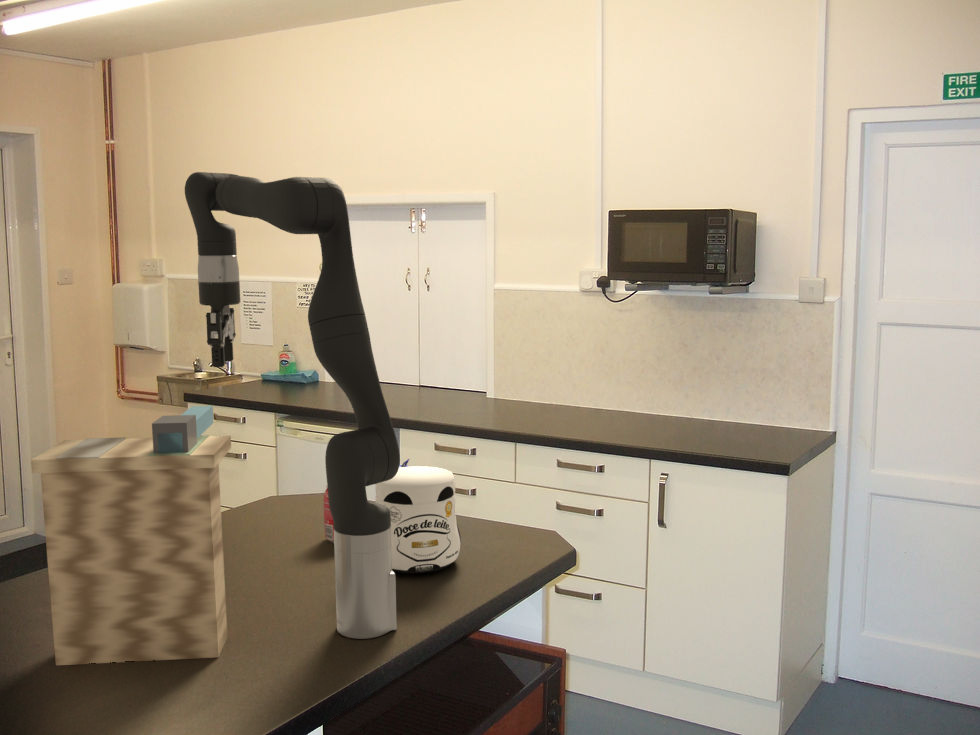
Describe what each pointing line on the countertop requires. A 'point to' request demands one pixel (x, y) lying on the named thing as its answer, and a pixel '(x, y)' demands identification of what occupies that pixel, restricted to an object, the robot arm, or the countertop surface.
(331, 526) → the soda can
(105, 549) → the wavy striped plinth
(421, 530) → the doce de leite tub
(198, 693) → the countertop surface
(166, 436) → the two-tone rectangular bar
